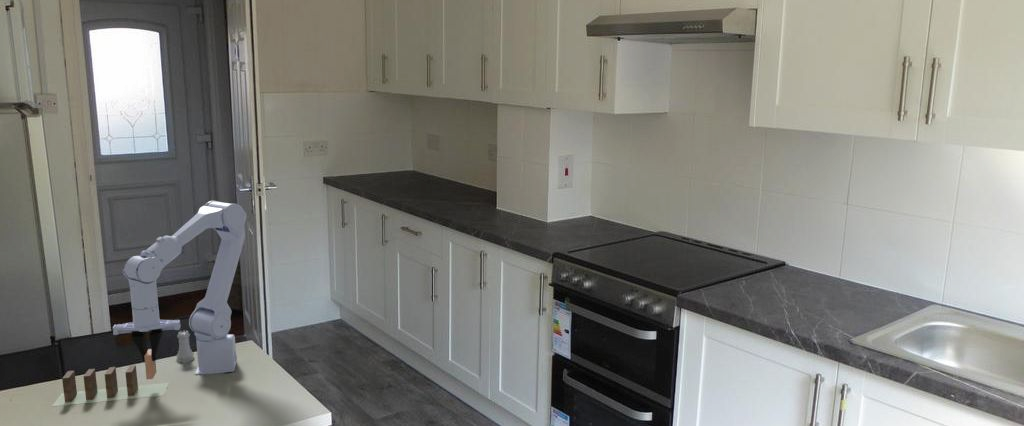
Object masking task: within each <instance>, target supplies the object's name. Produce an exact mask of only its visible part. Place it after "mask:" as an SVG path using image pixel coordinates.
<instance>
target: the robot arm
mask: <svg viewBox="0 0 1024 426" xmlns="http://www.w3.org/2000/svg"><path fill="white" fill-rule="evenodd" d="M247 217H248V215H247V214H246V211H245V210H244V208H243V207H242V206H241V205H240V204H238V203H228V202H222V201H219V200H210V201H208V202H206V203H205V204H204V205H202V206H201V207H199V208H198V210H197V213H195V215H193V216H192V218H190V219H189V220H188V221H187V222H186V223H184V224H183V225H182V226H180V228H179V229H177V231H176V232H174V234H172V235H163V236H159V237H157V238H156V241H155V242H154V243H153V244H152V245H150V246H149V247H148V248H146V250H145V249H144V250H142V251H140V254H139V255H134V256H131V257H130V258H129V259H128V260H127V261H126V262H125V264H124V269H122V274H123V275H124V277H125V278H126V279H127V280H128V285H129V292H130V293H129V294H130V302H131V303H130V304H131V309H132V310H131V312H132V322H126V323H122V324H120V323H118V324H114V325H113V326H112V332H113V336H118V335H119V334H131V336H130V339H131V341H132V342H133V344H134V345H136V347H137V349H138V351H139V353H140V355H141V358H142V362H144V363H145V357H144V355H145V354H146V352H147V350H148V345H147V344H148V343H147V333H148V332H150V333H149V335H148V337H149V342H150V349H151V355H152V361H157V357H158V350H159V349H158V348H159V344H160V342H161V339H162V335H163V334H164V331H170V330H171V331H172V330H174V331H179V330H180V329H181V320H180V319H174V320H173V319H160V310H159V299H158V298H159V297H158V286H157V280H158V279H159V277H160V275H161V272H162V270H163V269H164V267H166V266H168V265H169V264H170V263H171V262H172V261H174V259H176V258H177V257H179V255H181V254H182V250H183V249H182V247H183V246H184V245H186V244H187V243H189V242H190V241H192V240H193V239H194V238H195V237H197V236H198V235H200V234H201V233H203V232H204V231H205V230H207V229H213V230H215V231H216V233H217V234H218V236H219V237H220V239H221V241H220V243H219V244H220V245H219V247H218V251H217V255H216V258H215V261H214V265H213V269H212V272H211V276H210V279H209V283H208V286H207V288H206V292H205V296H204V298H203V299H201V300H200V301H198V302H197V303H196V306H195V309H194V310H193V311H192V313H191V315H190V316H189V319H188V326H189V328H190V329H191V331H192V332H194V336H195V340H196V341H195V343H196V353H197V355H196V356H197V363H198V364H197V368H196V370H195V373H194V375H196V376H200V375H210V374H211V375H212V374H220V373H231V372H235V368H236V367H237V366H236V365H237V362H238V358H237V356H238V355H237V349H236V337H235V334H233V333H232V334H230V333H229V332H230V330H231V326H232V320H231V316H232V311H233V310H232V309H231V307H230V305H229V304H228V299H229V297H230V293H231V289H232V285H233V282H234V278H235V275H236V271H237V267H238V264H239V261H240V256H241V253H242V249H243V246H244V244H245V239H246V230H245V225H246V220H247Z"/></svg>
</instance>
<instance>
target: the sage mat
mask: <svg viewBox="0 0 1024 426" xmlns="http://www.w3.org/2000/svg"><path fill="white" fill-rule="evenodd" d="M169 384H170V382H164V383H154V384H152V383H151V384H141V385H138V389H137V391H136V393H135V395H134V396H128V394H127V386H122V387H118V391H117V393H116V394H115V396H114V398H107V393H106V388H101V389H100V388H99V389H98V388H97V391H98V392H97V394H96V395H95V397H94V398H93V400H86V394H85V390H79V391H77V395H76V396H75V398H74V399H73V400H72V402H65V398H64V392H61V394H60V395H59V396H58V398H57V399H56V400H55V401H54V403H53V404H52V405H51V407H61V406H70V405H79V404H89V403H91V404H92V403H101V402H109V401H111V402H113V401H119V400H120V401H122V400H131V399H141V398H152V397H161V396H162V397H163V396H164V395H165V393H166V390H167V389H168V386H169Z"/></svg>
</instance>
